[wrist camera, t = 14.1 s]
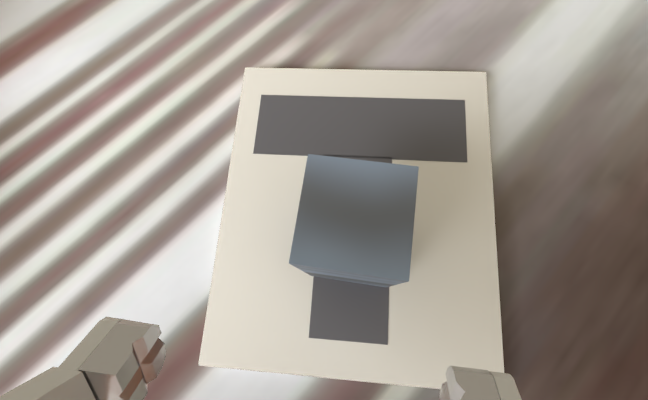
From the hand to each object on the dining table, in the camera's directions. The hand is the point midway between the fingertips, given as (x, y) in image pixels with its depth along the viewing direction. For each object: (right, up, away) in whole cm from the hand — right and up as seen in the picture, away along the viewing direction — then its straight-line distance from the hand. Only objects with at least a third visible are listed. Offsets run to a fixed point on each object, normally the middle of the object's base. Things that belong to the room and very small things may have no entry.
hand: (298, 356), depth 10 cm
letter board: (+3, +4, +13) cm, 14 cm away
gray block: (+2, +2, +11) cm, 12 cm away
